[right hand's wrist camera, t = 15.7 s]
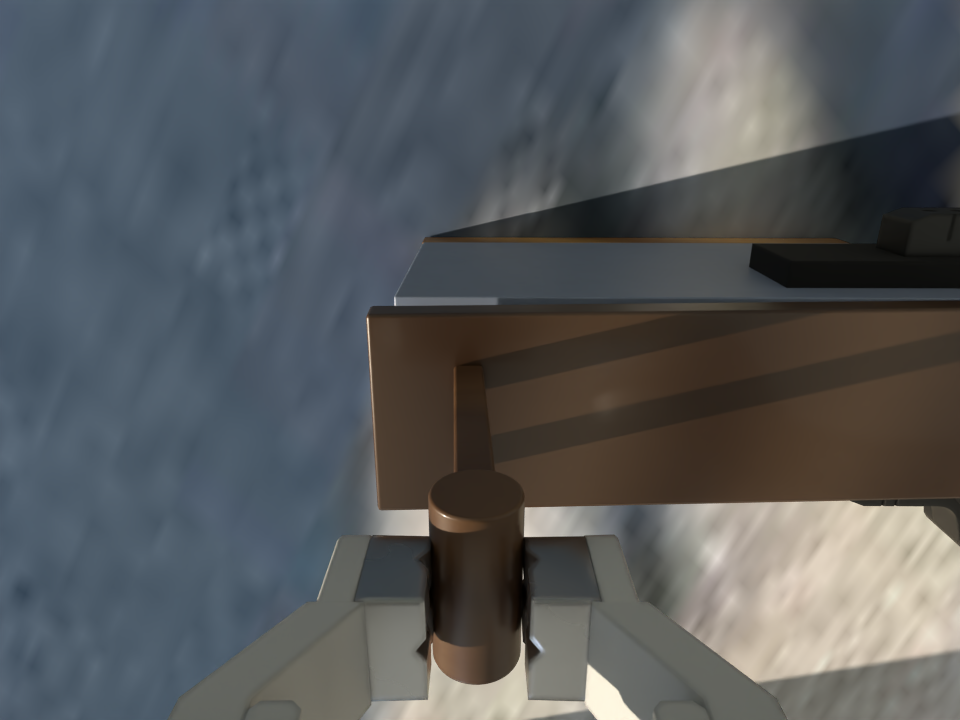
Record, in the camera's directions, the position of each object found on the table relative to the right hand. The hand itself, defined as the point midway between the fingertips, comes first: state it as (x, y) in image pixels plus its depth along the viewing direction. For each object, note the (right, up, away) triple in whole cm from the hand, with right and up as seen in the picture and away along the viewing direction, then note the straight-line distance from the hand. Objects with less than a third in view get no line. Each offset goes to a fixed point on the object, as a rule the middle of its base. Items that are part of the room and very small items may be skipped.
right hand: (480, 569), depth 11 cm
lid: (+5, +2, +6) cm, 9 cm away
